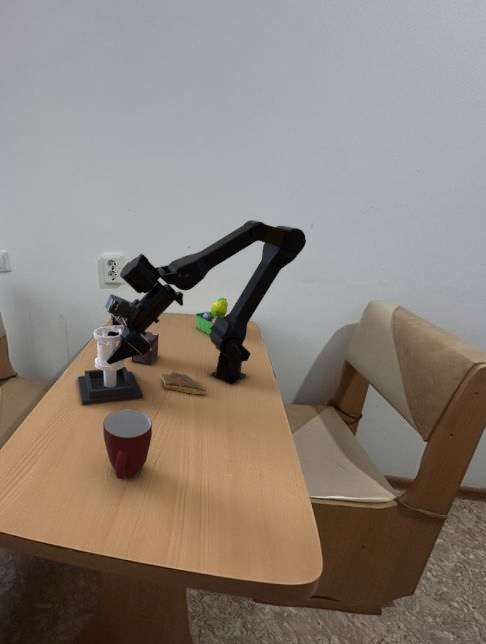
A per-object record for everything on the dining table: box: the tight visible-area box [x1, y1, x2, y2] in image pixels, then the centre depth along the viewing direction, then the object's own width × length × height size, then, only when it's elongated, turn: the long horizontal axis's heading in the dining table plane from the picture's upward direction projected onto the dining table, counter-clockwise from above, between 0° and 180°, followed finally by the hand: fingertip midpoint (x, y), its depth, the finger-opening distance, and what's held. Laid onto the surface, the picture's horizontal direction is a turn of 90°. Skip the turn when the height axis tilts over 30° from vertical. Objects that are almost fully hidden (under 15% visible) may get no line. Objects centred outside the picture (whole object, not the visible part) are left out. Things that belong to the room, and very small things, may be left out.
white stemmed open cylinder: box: [93, 325, 126, 388], centre depth 88 cm, size 7×7×15 cm
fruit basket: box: [194, 297, 229, 336], centre depth 123 cm, size 11×9×11 cm
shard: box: [159, 371, 207, 395], centre depth 91 cm, size 11×8×2 cm
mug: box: [102, 408, 153, 480], centre depth 62 cm, size 11×8×10 cm
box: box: [131, 331, 160, 365], centre depth 105 cm, size 6×6×7 cm
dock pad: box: [77, 366, 143, 406], centre depth 91 cm, size 14×12×3 cm
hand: (105, 354), depth 87 cm, fingers open, 9 cm apart
